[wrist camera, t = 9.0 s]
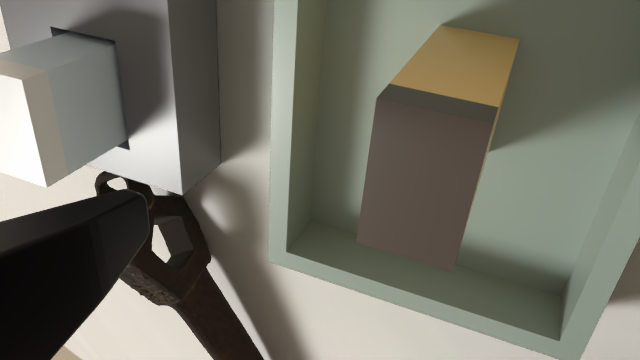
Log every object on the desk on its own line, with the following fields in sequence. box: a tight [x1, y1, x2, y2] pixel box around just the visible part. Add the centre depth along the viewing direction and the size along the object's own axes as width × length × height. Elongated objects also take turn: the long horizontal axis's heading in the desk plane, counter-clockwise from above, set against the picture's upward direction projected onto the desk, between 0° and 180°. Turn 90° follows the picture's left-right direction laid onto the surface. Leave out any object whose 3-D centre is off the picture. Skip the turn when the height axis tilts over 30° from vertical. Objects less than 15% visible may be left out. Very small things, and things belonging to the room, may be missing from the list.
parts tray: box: [268, 0, 640, 360], centre depth 17 cm, size 12×16×3 cm
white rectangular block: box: [0, 31, 128, 188], centre depth 21 cm, size 2×4×7 cm, turn 176°
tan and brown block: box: [356, 25, 520, 273], centre depth 15 cm, size 2×4×7 cm, turn 176°
